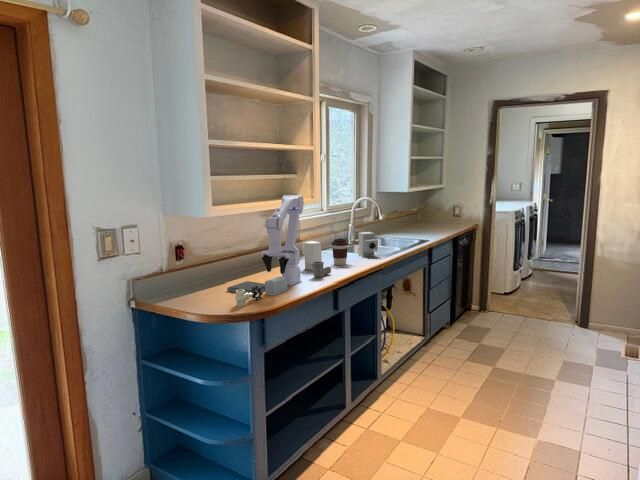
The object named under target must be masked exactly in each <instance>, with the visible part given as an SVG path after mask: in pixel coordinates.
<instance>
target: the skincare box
mask: <svg viewBox="0 0 640 480" xmlns="http://www.w3.org/2000/svg"><path fill="white" fill-rule="evenodd" d="M303 249H304V250H303V252H304V269H305V270H307V271H308V270H309V271H312V272H313V267H312V264H311V263H312V262H323V261H322V260H323V259H322V242H320V241H313V240H311V241H306V242H303Z"/></svg>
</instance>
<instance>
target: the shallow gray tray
mask: <svg viewBox="0 0 640 480" xmlns="http://www.w3.org/2000/svg"><path fill="white" fill-rule="evenodd" d="M256 285H257V286H258V288H261V290H260V292H262V293H264V292H265V282H264V283H261V282H257V281H249V280H246V281H243V282H240V283H238V284H234V285H231V286H228V287H227V292H228V293H229V292H230V293H235V294H236V290H239V289H243V290H245V293H248V294H249V293H250V291H252V290H253V289H252V287H255V286H256ZM255 288H256V287H255ZM255 291H258V290H257V289H255ZM258 294H259V292H258Z"/></svg>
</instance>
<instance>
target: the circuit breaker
mask: <svg viewBox="0 0 640 480" xmlns="http://www.w3.org/2000/svg"><path fill="white" fill-rule="evenodd" d="M357 236H358V237H357V239H358V251H357V252H358V254H357V255H358V256H360V257H362V258H369V257H370V258H371V257H375V253H376V252H378V251H379V250H378V247H379V245H378V244H379V243H378V242H379V241H378V239H376V238H375V233H374V232H372V231H365V232H363V231H361V232H358V235H357Z"/></svg>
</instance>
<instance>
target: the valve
mask: <svg viewBox="0 0 640 480" xmlns="http://www.w3.org/2000/svg"><path fill="white" fill-rule="evenodd" d="M255 287H256V288H255ZM255 287H252V289H253V290H252V291H250V293H249V294H248V293H245V290H243V289H239V290H236V293H235V301H236V302H235V303H236V307H238V308H239V307H240V308H242V307H246V301H248V300H249V299H250V298H252V299H254V300H255V301H256V302H257V301H259V300H262V299H263V298H262V296H263V294H264V292H260V290H261V288H258V286H257V285H256V286H255ZM255 289H257V290H258V291H255ZM258 292H259V293H258ZM257 295H258V296H257Z"/></svg>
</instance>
